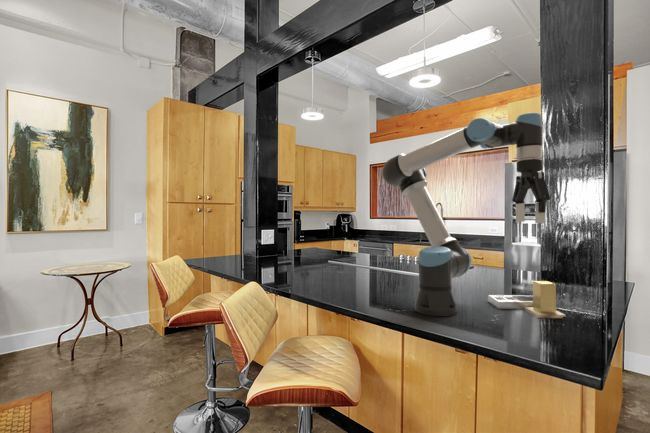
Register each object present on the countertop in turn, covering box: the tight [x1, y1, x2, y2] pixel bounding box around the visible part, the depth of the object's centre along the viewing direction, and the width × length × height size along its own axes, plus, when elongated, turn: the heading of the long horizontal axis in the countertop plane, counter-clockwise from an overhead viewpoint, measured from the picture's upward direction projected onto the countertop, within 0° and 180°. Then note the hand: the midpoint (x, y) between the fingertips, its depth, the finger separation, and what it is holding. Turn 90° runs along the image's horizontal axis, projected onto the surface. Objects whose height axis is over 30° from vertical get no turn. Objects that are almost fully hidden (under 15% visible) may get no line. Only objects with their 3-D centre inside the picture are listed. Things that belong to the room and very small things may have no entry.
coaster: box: [523, 307, 567, 319], centre depth 119 cm, size 9×9×2 cm
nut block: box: [532, 280, 557, 313], centre depth 118 cm, size 5×5×10 cm
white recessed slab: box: [487, 294, 533, 310], centre depth 130 cm, size 18×10×3 cm, turn 84°
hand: (529, 222), depth 116 cm, fingers open, 13 cm apart
